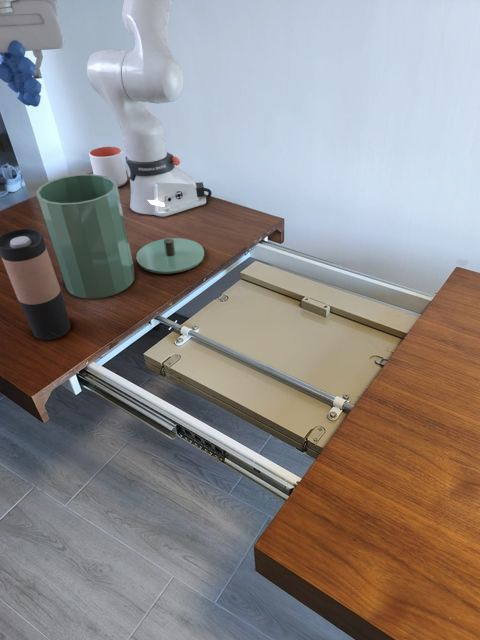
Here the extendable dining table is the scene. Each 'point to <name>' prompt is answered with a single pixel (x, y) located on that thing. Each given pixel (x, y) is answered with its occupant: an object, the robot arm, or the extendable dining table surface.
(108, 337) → the extendable dining table surface
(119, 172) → the cup
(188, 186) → the robot arm
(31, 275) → the travel mug
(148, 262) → the lid
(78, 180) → the pot
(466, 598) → the extendable dining table surface
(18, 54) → the grapes
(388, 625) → the extendable dining table surface
